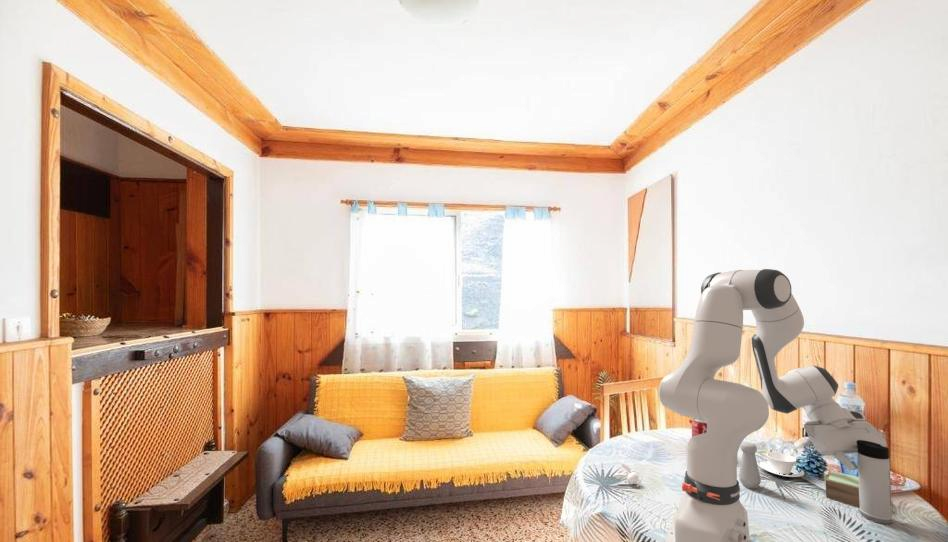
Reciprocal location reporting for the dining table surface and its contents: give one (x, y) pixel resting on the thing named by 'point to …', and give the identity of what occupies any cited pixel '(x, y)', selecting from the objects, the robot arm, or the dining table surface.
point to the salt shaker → (749, 466)
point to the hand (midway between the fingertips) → (868, 468)
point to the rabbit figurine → (629, 475)
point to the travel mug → (874, 482)
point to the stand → (842, 488)
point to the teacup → (779, 464)
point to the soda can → (698, 427)
